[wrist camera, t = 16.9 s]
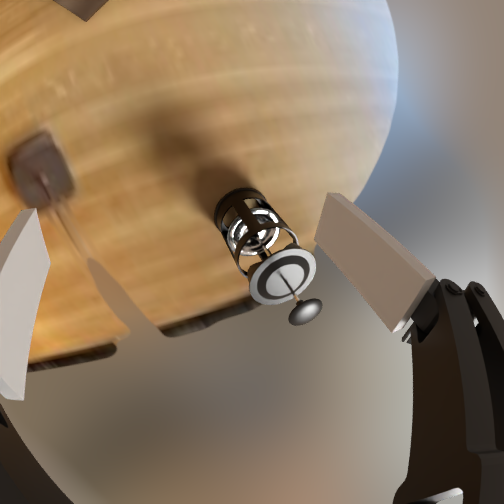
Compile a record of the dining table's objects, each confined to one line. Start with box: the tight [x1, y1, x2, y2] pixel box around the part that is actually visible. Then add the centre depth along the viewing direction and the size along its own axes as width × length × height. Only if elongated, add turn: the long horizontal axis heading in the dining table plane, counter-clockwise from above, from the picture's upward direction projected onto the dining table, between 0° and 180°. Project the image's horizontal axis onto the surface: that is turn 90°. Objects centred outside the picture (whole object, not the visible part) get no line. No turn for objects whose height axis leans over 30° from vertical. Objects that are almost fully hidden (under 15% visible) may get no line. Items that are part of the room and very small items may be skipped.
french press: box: [214, 188, 322, 326], centre depth 38 cm, size 12×9×23 cm
